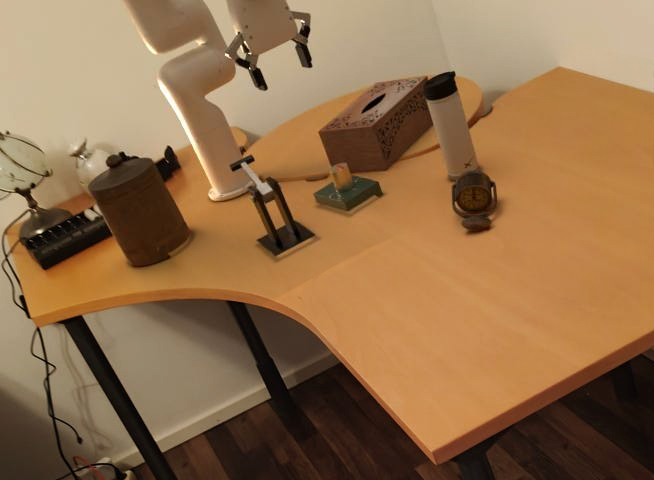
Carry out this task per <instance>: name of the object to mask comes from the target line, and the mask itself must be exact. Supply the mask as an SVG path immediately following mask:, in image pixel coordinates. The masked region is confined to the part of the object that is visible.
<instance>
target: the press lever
mask: <svg viewBox="0 0 654 480" xmlns="http://www.w3.org/2000/svg"><path fill="white" fill-rule="evenodd" d="M255 161H256V160H255V156H253V154H252V153H251V154H249V155H247V156H244V157H243V159H241V160H239V161H236V162H234V163H232V164H230V165H229V166H230V169H231V170H232V172H234V171H236V170H238V169H240V168H242V169H243V170H244V171H245V173H246V174H247V175H248V177H249V178H250V179H251V180H252V182H253V183H254V184H255V188H256V189H257V190H259V192H260V194H261V197H262V199H263V201H264V203H265V205H266V204H269V203H270V202H273V201H275V200H274V199H275V196H274V192H273V190H272V188H271V187H270V186H269V185H268V183H267V181H264V182H262V180H260V177H259V178H258V177H257V176H256V175H255V173H254V172H255V171H254V170H253V169H252V168H251V167H250V166H249V165H250V164H252V163H254V162H255Z"/></svg>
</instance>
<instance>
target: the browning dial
mask: <svg viewBox="0 0 654 480" xmlns="http://www.w3.org/2000/svg"><path fill="white" fill-rule="evenodd" d="M328 173H329V176H330V178H331V181H332V182H333V184H334V187H335V189H336V191H337V192H344V191H347V190H349V189H351V188H352V187H353V186H354V182H353V179H352V176H351V175H352V174H351V173H352V172H350V171H349V168H348V165H347V164H346V163H339V164H336V165H334V166H332V167H331V166H330V168H328Z"/></svg>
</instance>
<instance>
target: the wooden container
mask: <svg viewBox="0 0 654 480" xmlns="http://www.w3.org/2000/svg"><path fill="white" fill-rule="evenodd" d="M105 165H106V167H108V169H106V170H104V171H102V172H101V173H99V174H98V175H96V176H95V177H94V178H93V179H91V181H90V182H89V183H88V184H87V190H88V193H89V194H90V195H91V198H92V199H93V200H94V202H95V204H96V206H97V208H98V210H99V212H100V214H101V216H102V217H103V220H104V221H105V223H106V225H107V227H108V229H109V230H110V232H111V234H112V236H113V238H114V239H115V241H116V243H117V246H119V248H120V249H121V251H122V253H123V255H124V256H125V258H126V260H127V262H128V263H129V264H130V265H131V266H135V267H142V266H148V265H152V264H156V263H158V262H162V261H164V260H166V259H167V258H170V257H171V255H170V253H171V252H173V251H175V250H176V249H178V248H179V247H181V246H182V245H183V244H184V243H185V242H186V241H187V240H188V239H189V237H190V235H191V230H190V228H189V226H188V225H187V221H185V219H184V215H183V214H182V212H181V210H180V208H179V207H178V205H177V203H176V201H175V199H174V198H173V196H172V194H171V192H170V190H169V189H168V187H167V186H168V185H166V182H165V181H164V179H163V177H162V175H161V173H160V170H159V169H158V167H157V165H156V163H155V161H154V159H152V157H151V158H150V157H139V158H133V159H130V160H126V161H124V162H123V158H122V157H121V155H119V154H111V155H109V156H107V158H106V160H105Z"/></svg>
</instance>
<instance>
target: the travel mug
mask: <svg viewBox="0 0 654 480" xmlns="http://www.w3.org/2000/svg"><path fill="white" fill-rule="evenodd" d="M456 76H457V74H456V71H455V70H452V71H446V72H442V73H439V74H437V75H435V76H433V77H431V78H428V81H427V82H426V83H425V85H424V86H423V90H424V93H425V96H426V101H427V104H428V107H429V111H430V114H431V118H432V121H433V124H432V125H433V127H434V130H435V131H434V132H435V134H436V138H437V141H438V144H439V147H440V151H441V155H442V158H443V161H444V164H445V168H446V171H447V174H448V178H449V179H450V180H451V181H455V182H456V181H457V179H458V177H459V176H460V175H461V174H463V173H464V172H467V171H470V170H478V171H480V165H479V162H478V157H477V154H476V150H475V146H474V143H473V139H472V135H471V132H470V128H469V125H468V121H467V118H466V114H465V109H464V107H463V102H462V98H461V95H460V92H459V88H458V85H457V82H456V79H455V78H456Z"/></svg>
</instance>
